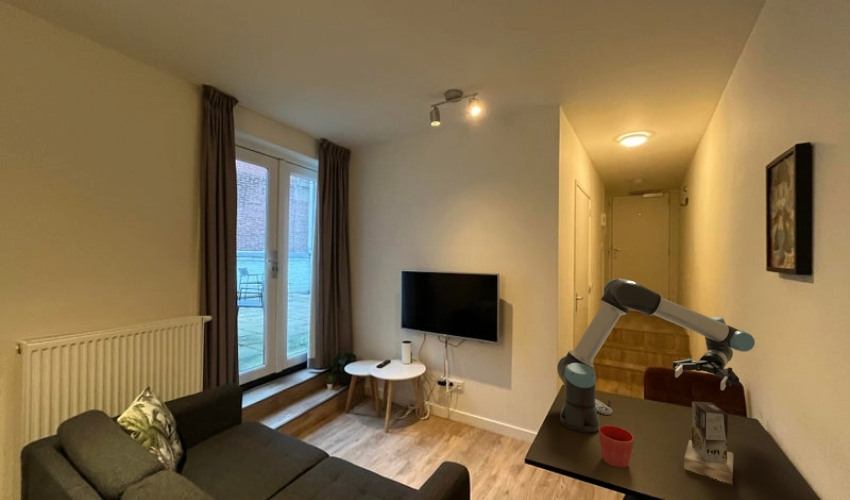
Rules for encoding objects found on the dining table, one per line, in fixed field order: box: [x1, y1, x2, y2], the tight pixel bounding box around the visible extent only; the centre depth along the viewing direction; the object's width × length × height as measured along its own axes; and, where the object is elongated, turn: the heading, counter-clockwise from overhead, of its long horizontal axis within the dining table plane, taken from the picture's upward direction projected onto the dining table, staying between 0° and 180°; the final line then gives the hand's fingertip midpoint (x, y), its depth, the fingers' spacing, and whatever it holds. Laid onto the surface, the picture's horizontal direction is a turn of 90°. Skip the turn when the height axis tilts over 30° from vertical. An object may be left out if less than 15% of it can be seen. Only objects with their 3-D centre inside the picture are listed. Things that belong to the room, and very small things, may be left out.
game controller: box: [595, 398, 613, 416], centre depth 162 cm, size 15×13×2 cm
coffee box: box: [691, 401, 729, 464], centre depth 118 cm, size 9×6×16 cm
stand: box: [683, 439, 734, 485], centre depth 118 cm, size 12×14×4 cm
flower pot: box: [598, 425, 635, 469], centre depth 121 cm, size 11×11×10 cm
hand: (698, 380), depth 129 cm, fingers open, 13 cm apart
